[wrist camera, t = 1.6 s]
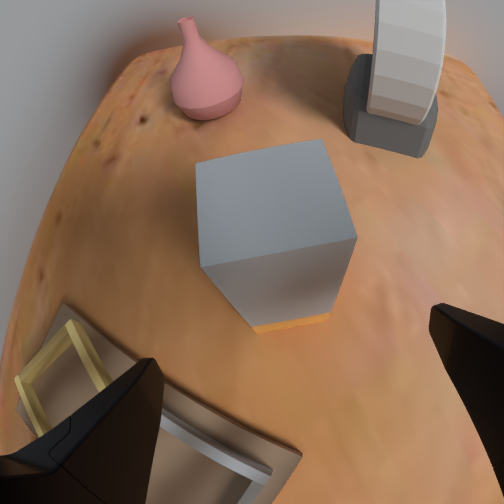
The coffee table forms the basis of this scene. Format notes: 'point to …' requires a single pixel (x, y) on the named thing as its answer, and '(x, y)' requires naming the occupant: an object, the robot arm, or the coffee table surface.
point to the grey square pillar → (275, 233)
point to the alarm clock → (398, 78)
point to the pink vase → (204, 77)
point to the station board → (171, 427)
